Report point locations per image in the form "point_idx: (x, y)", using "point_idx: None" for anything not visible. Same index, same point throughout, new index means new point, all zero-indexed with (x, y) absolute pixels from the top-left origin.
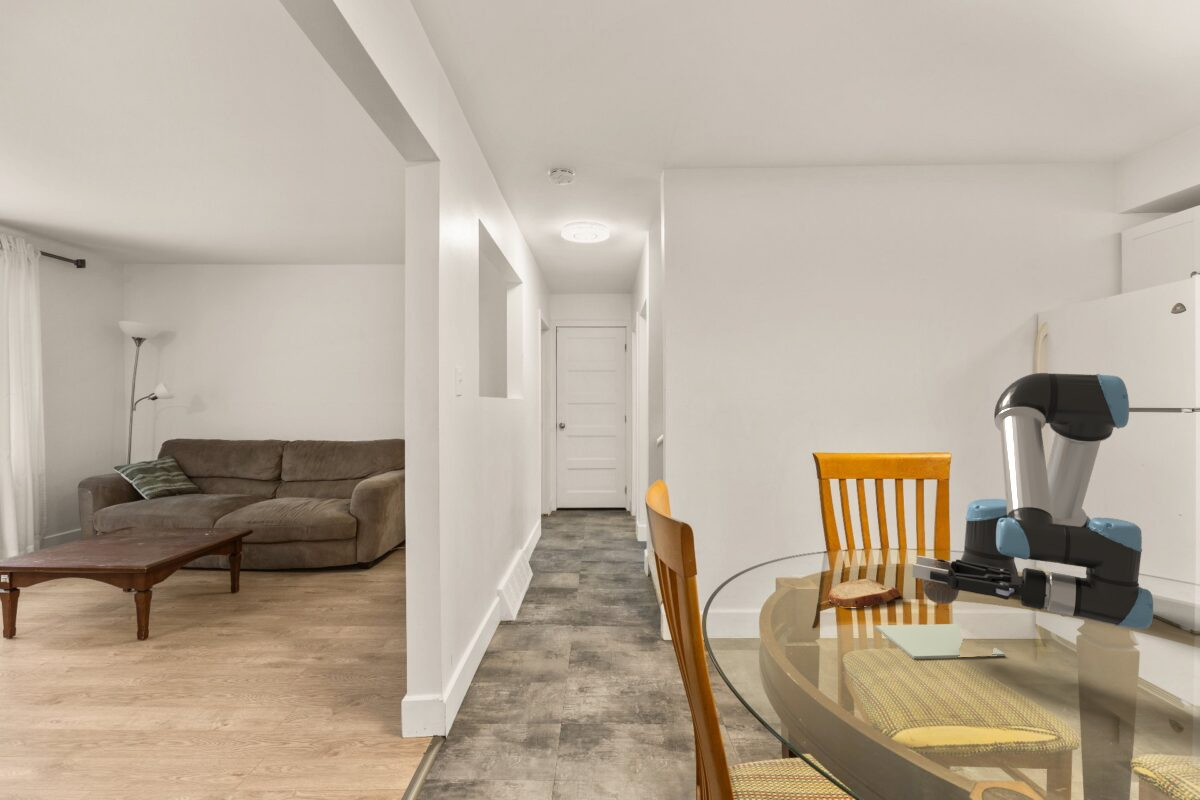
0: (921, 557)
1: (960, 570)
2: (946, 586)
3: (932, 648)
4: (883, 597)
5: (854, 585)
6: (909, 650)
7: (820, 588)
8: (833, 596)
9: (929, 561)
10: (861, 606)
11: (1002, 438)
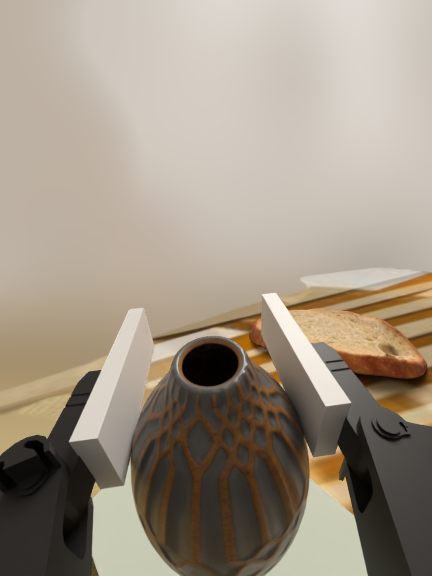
0: (265, 304)
1: (367, 516)
2: (132, 491)
3: (152, 553)
4: None
5: (336, 319)
6: (111, 491)
7: (295, 305)
8: (260, 318)
9: (277, 333)
10: None
11: None
